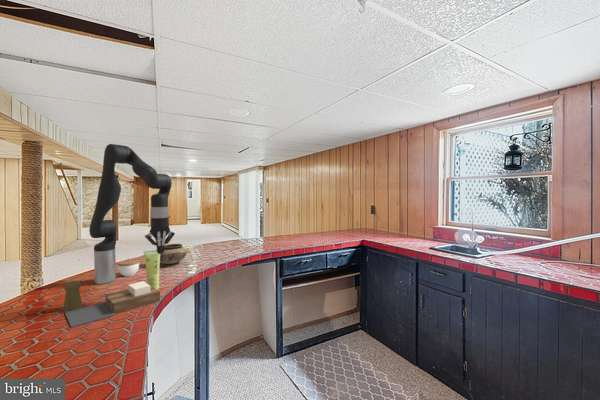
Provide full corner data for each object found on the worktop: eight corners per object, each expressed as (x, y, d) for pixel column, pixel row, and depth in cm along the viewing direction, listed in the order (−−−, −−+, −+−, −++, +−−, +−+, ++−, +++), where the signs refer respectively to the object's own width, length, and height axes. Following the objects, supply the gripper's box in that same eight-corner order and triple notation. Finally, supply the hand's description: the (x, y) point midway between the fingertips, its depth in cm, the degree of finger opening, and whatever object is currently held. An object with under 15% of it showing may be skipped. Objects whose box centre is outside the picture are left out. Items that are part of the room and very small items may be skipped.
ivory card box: (128, 291, 117) (128, 284, 117) (143, 287, 122) (143, 281, 121) (134, 296, 111) (134, 289, 111) (150, 292, 115) (150, 285, 115)
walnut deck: (105, 304, 113) (105, 294, 113) (148, 292, 126) (148, 284, 125) (114, 314, 104) (113, 304, 103) (160, 300, 116) (159, 292, 116)
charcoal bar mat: (64, 313, 104) (64, 312, 104) (104, 303, 114) (104, 302, 114) (71, 327, 93) (71, 326, 93) (115, 315, 103) (115, 314, 103)
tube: (150, 292, 126) (149, 252, 126) (144, 290, 129) (143, 250, 128) (161, 288, 131) (160, 249, 131) (155, 286, 134) (154, 248, 133)
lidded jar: (113, 275, 151) (113, 259, 151) (132, 271, 161) (132, 255, 161) (124, 278, 146) (124, 262, 146) (143, 273, 156) (143, 257, 156)
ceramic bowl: (194, 265, 182) (196, 244, 185) (182, 266, 165) (185, 242, 168) (159, 265, 182) (161, 244, 186) (144, 266, 165) (147, 242, 168)
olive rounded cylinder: (67, 306, 111) (66, 280, 111) (84, 303, 113) (84, 278, 113) (60, 312, 105) (59, 285, 105) (78, 309, 107) (78, 283, 107)
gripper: (171, 215, 130) (171, 250, 130) (141, 217, 120) (142, 254, 120) (177, 216, 124) (178, 252, 125) (147, 218, 115) (147, 257, 115)
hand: (160, 253), depth 123 cm, fingers closed
